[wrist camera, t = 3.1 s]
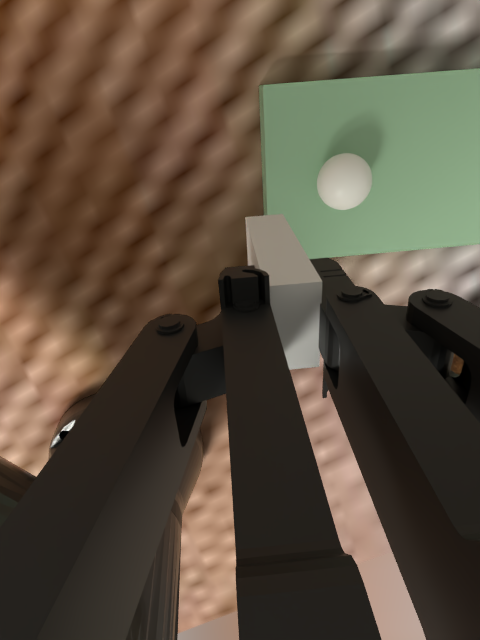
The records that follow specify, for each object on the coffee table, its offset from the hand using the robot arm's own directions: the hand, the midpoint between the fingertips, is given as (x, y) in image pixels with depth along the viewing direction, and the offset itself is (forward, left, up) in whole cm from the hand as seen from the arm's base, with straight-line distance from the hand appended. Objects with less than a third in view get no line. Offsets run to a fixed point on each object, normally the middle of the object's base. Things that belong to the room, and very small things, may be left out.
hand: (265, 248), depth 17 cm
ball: (+7, 0, -12) cm, 14 cm away
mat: (+15, 0, -16) cm, 22 cm away
